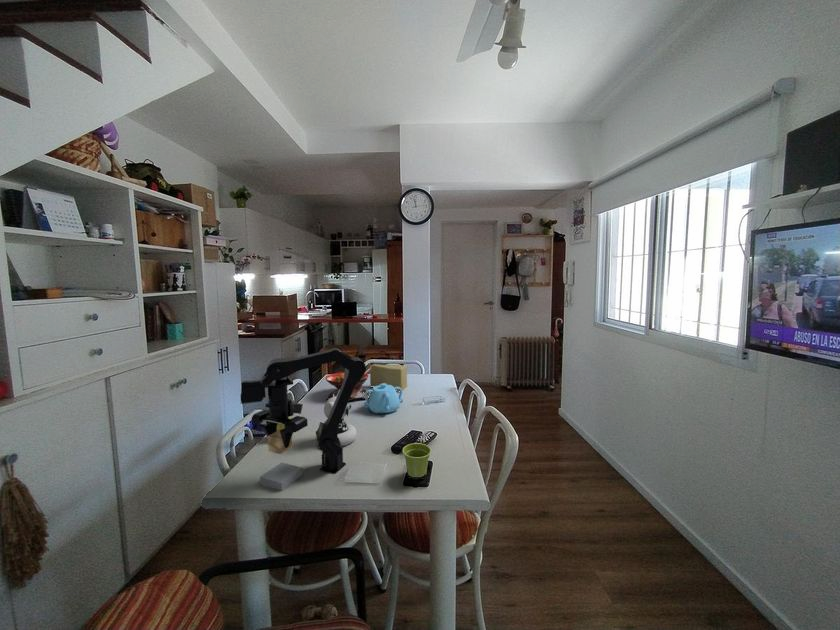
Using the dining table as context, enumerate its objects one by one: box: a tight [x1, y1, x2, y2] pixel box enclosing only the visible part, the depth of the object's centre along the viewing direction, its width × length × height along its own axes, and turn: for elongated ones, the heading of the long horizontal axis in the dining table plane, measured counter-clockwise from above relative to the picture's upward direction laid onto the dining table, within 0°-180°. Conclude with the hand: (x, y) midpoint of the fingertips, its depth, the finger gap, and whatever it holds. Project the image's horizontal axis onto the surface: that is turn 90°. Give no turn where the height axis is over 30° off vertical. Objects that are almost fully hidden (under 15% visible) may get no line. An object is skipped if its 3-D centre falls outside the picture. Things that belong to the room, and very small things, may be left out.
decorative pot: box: [363, 383, 404, 414], centre depth 163 cm, size 16×16×14 cm
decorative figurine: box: [323, 389, 358, 447], centre depth 131 cm, size 15×15×20 cm
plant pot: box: [402, 442, 432, 477], centre depth 107 cm, size 9×9×9 cm
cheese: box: [369, 363, 408, 391], centre depth 195 cm, size 22×10×15 cm, turn 73°
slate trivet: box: [259, 462, 304, 492], centre depth 106 cm, size 9×9×2 cm
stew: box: [325, 366, 373, 401], centre depth 183 cm, size 28×24×16 cm
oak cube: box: [267, 430, 293, 455], centre depth 105 cm, size 5×5×5 cm
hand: (280, 445), depth 106 cm, fingers closed on oak cube, 5 cm apart
